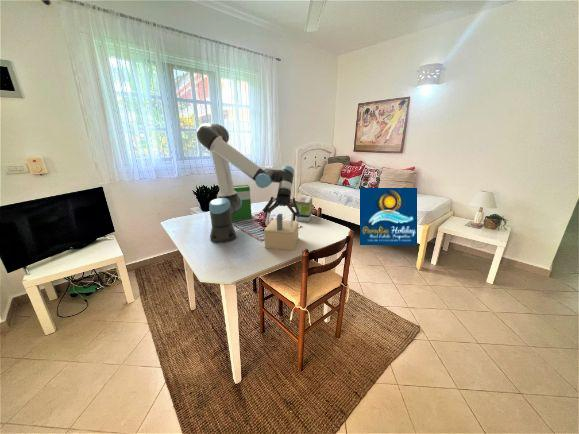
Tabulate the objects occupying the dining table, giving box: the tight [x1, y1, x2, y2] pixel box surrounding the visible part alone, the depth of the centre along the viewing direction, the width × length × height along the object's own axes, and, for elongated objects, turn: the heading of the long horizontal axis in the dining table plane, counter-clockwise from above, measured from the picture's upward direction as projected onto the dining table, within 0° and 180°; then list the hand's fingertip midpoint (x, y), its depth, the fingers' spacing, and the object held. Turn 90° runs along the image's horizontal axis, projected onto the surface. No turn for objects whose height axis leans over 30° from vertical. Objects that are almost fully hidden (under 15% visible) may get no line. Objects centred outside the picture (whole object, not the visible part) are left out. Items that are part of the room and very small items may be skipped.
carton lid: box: [263, 213, 299, 234], centre depth 125 cm, size 16×16×9 cm
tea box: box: [295, 196, 313, 223], centre depth 166 cm, size 15×10×15 cm
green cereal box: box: [231, 184, 253, 222], centre depth 166 cm, size 18×7×24 cm, turn 107°
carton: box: [263, 224, 299, 251], centre depth 129 cm, size 16×16×10 cm
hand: (278, 225), depth 119 cm, fingers open, 13 cm apart
